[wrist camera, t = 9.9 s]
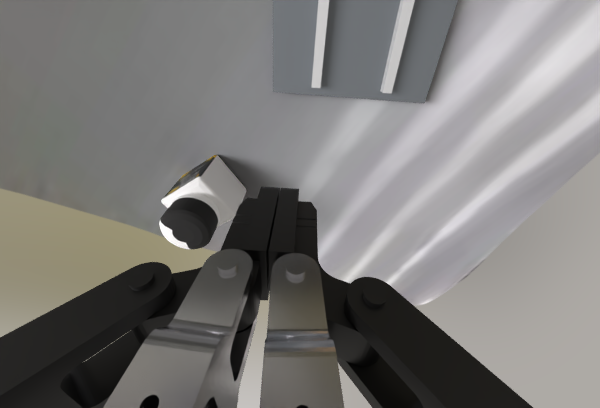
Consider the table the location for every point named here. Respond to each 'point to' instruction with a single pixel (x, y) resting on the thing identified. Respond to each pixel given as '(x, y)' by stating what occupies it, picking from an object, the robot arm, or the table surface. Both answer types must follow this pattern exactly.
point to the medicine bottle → (201, 204)
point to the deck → (359, 47)
